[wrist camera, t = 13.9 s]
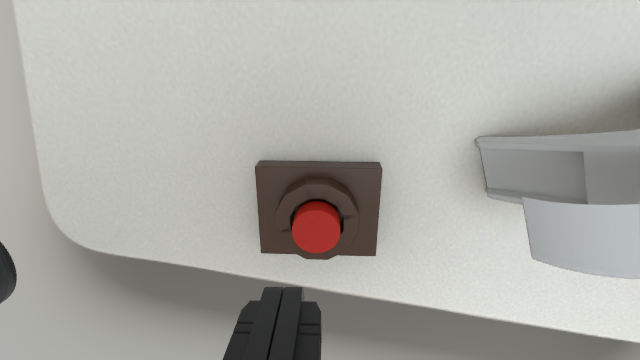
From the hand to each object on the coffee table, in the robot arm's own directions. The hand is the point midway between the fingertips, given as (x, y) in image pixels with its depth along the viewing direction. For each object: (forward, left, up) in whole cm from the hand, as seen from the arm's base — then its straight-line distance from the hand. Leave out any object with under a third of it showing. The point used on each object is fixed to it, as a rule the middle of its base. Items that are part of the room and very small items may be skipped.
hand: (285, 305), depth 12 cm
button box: (+1, -3, -15) cm, 16 cm away
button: (+1, -3, -12) cm, 13 cm away
